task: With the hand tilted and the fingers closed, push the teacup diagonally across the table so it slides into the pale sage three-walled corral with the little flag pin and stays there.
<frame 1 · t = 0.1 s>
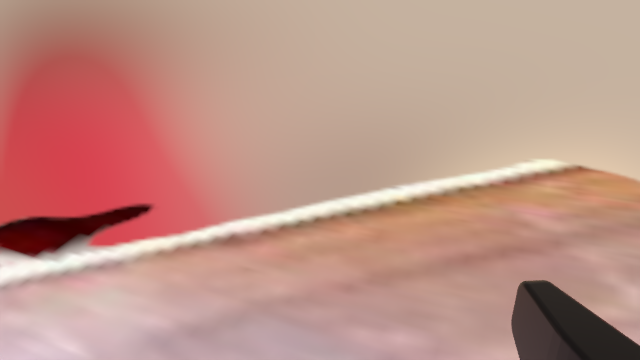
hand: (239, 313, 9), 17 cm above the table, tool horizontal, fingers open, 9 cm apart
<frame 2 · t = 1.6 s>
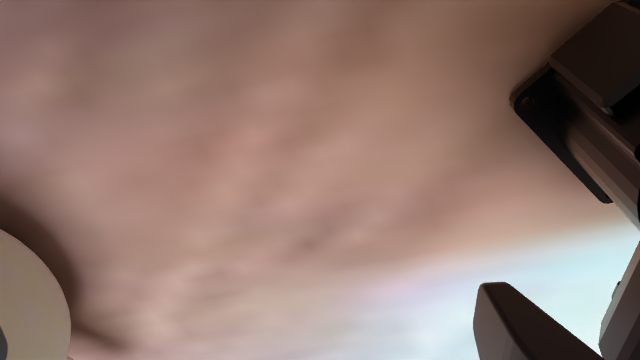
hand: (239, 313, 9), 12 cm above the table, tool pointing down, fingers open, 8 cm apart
teacup: (5, 292, 24), on the table
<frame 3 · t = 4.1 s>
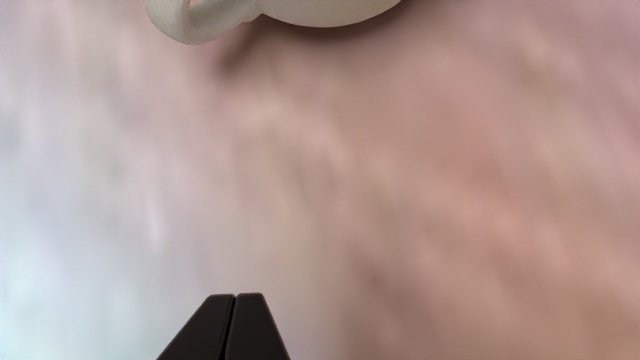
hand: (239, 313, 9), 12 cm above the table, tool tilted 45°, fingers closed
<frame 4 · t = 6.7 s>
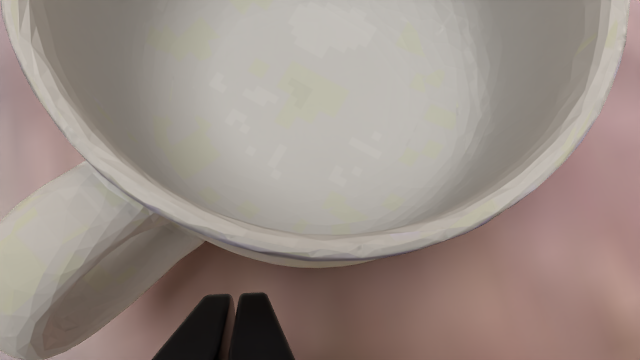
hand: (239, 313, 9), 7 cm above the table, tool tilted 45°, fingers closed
teacup: (280, 144, 17), on the table, touching gripper
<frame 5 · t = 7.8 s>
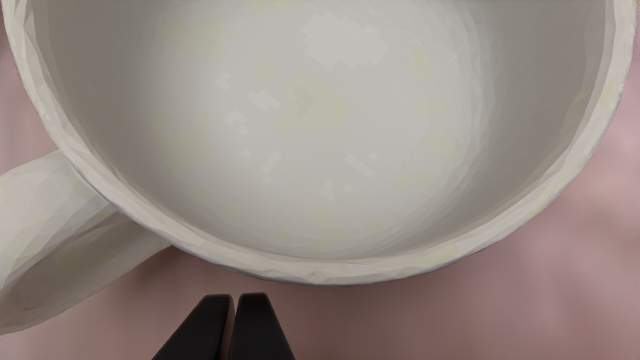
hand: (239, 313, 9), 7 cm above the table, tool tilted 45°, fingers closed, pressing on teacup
teacup: (278, 149, 17), on the table, touching gripper
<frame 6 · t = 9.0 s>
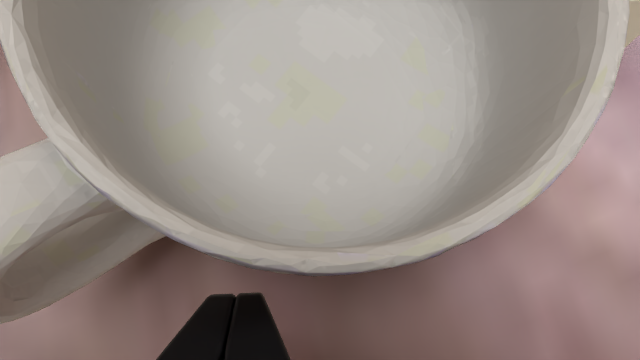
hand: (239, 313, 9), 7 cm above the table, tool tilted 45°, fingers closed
teacup: (272, 142, 17), on the table
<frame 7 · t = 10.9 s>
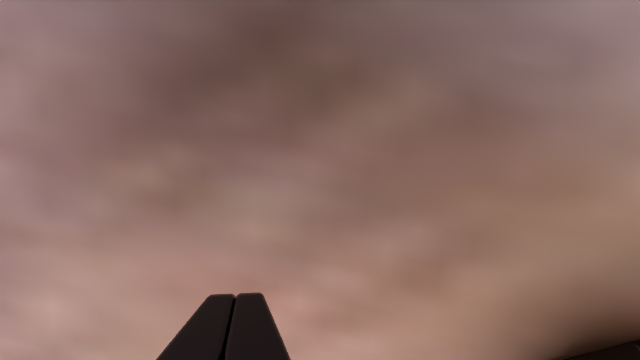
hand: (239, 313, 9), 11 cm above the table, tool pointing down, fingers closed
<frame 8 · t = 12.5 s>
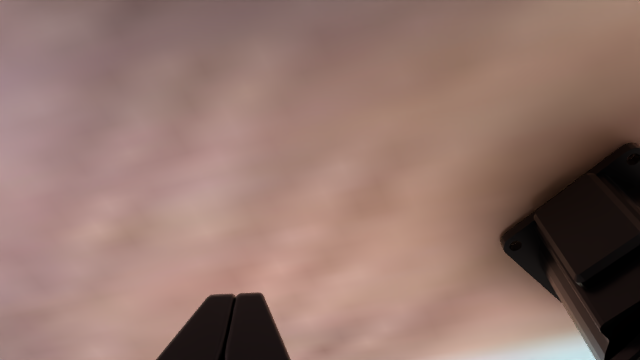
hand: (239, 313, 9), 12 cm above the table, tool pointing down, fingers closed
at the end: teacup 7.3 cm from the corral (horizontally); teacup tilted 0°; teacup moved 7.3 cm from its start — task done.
